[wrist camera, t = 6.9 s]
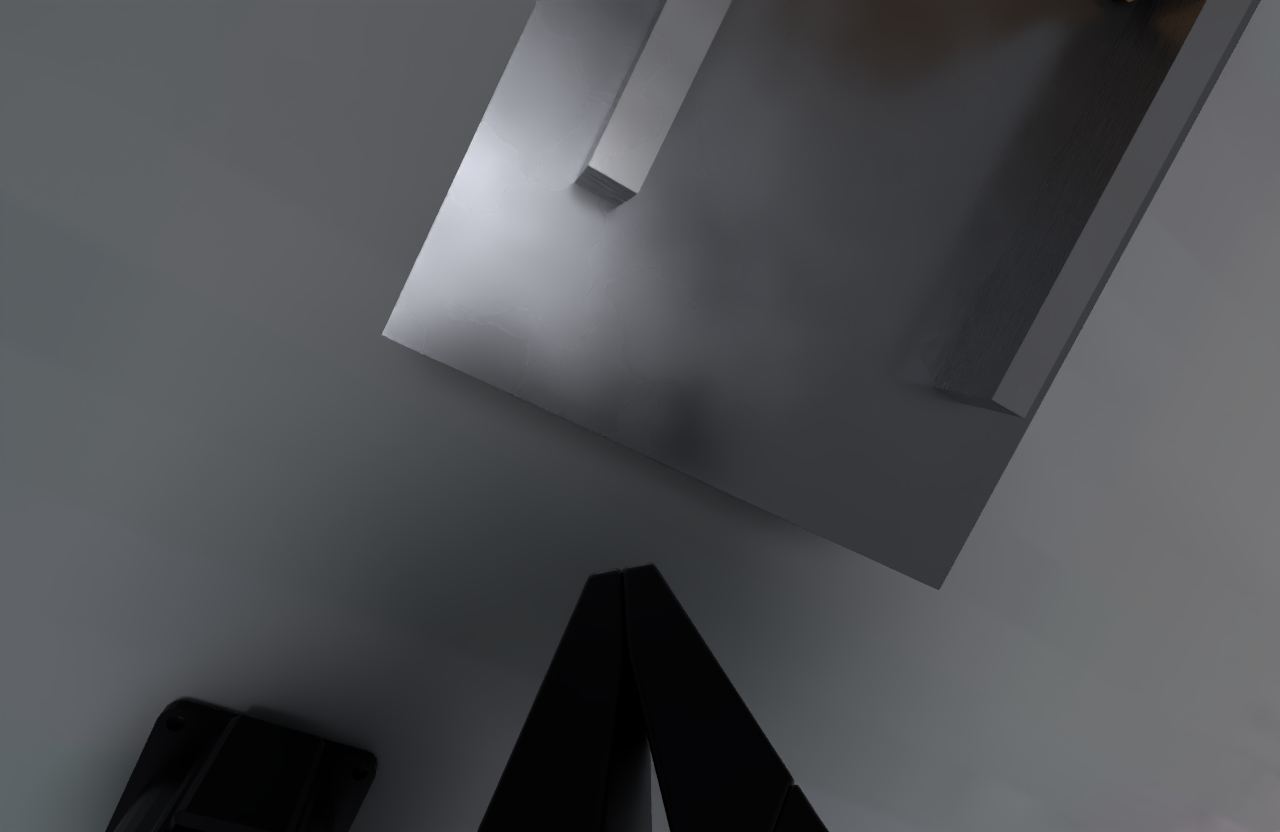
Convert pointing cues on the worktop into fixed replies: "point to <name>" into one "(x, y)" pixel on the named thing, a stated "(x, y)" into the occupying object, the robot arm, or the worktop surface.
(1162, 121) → the bracket
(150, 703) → the worktop surface
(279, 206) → the worktop surface
